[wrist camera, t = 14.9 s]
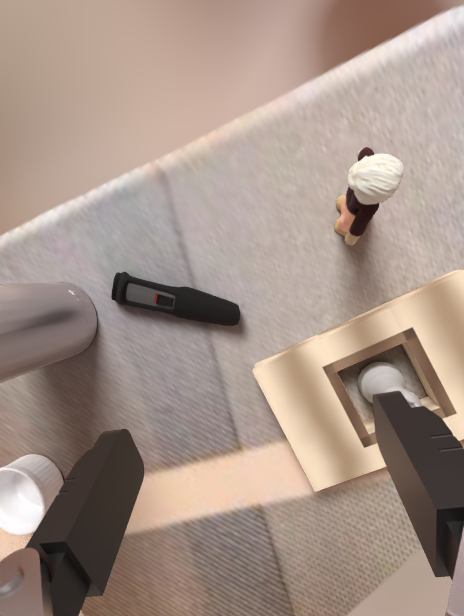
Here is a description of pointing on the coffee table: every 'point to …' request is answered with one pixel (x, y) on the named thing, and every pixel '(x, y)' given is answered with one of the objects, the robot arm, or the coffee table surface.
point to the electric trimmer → (174, 300)
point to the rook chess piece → (384, 382)
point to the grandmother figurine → (366, 192)
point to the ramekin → (27, 493)
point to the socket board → (355, 348)
